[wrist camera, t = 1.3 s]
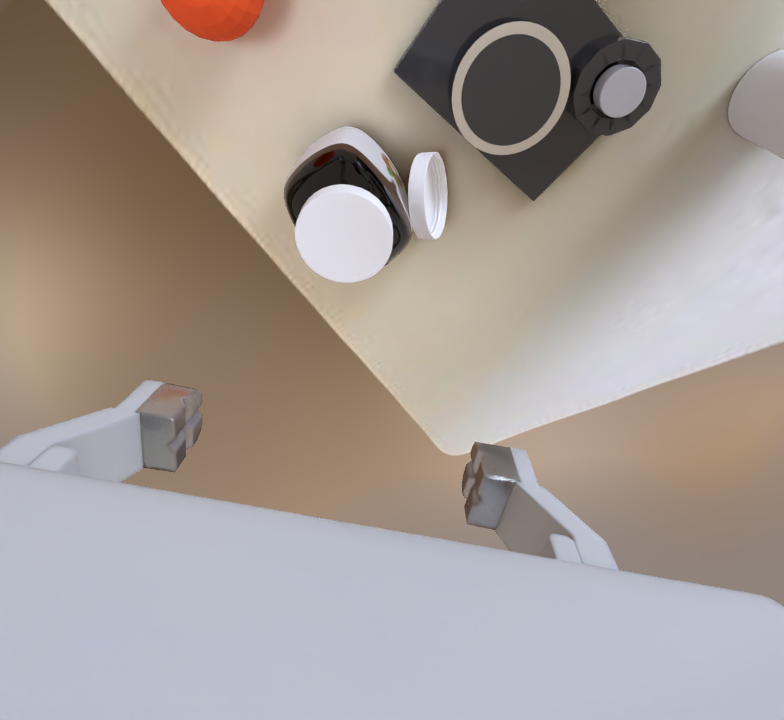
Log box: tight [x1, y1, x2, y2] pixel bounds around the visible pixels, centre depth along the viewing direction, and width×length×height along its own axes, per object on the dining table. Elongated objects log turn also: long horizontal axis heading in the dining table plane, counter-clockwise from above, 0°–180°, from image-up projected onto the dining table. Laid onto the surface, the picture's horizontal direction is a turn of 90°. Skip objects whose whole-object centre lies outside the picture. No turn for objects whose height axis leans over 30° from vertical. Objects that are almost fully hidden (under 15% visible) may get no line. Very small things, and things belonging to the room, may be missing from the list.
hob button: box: [593, 64, 646, 118], centre depth 33 cm, size 3×3×2 cm
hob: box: [393, 0, 661, 201], centre depth 34 cm, size 17×13×2 cm
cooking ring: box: [452, 21, 571, 155], centre depth 34 cm, size 9×9×1 cm
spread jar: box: [284, 126, 448, 283], centre depth 36 cm, size 12×11×12 cm
